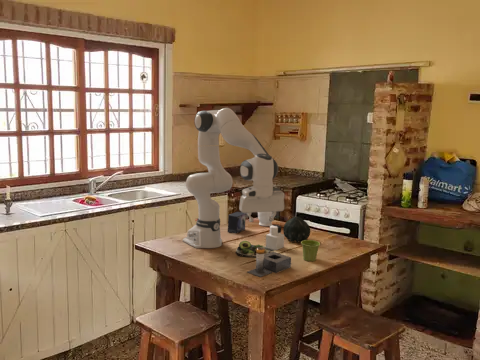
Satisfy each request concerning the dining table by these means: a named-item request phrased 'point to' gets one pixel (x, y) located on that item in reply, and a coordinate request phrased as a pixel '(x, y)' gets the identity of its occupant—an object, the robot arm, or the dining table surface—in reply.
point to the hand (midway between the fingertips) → (261, 221)
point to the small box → (236, 222)
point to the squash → (296, 229)
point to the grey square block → (276, 262)
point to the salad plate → (250, 249)
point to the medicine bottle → (275, 238)
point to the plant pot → (310, 249)
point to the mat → (259, 273)
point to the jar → (264, 218)
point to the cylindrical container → (260, 260)
